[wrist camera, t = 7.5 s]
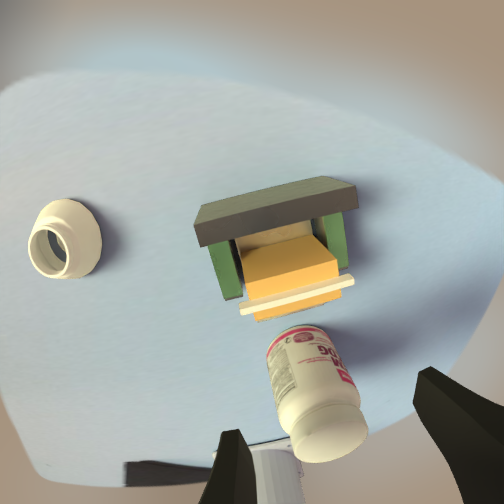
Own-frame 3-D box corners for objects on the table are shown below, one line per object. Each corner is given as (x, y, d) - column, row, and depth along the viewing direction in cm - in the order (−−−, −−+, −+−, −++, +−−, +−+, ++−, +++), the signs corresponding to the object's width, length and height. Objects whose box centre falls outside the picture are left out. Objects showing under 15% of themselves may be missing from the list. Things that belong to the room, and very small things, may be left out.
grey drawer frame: (341, 296, 19) (369, 334, 15) (237, 325, 19) (241, 370, 15) (322, 175, 16) (355, 185, 12) (201, 205, 16) (192, 225, 12)
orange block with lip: (325, 263, 17) (355, 300, 13) (240, 286, 17) (246, 330, 13) (320, 232, 17) (352, 261, 12) (231, 255, 17) (234, 292, 12)
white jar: (82, 287, 17) (118, 231, 16) (63, 309, 15) (100, 247, 14) (31, 242, 16) (61, 182, 15) (7, 257, 13) (35, 189, 12)
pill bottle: (341, 329, 20) (393, 415, 12) (313, 378, 21) (346, 465, 13) (279, 316, 19) (313, 414, 11) (256, 369, 20) (272, 467, 12)
